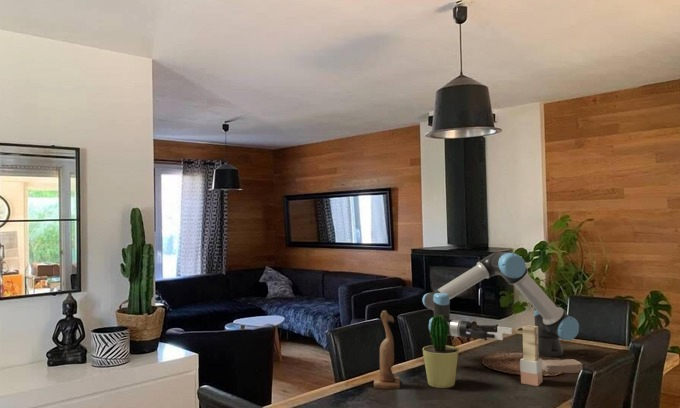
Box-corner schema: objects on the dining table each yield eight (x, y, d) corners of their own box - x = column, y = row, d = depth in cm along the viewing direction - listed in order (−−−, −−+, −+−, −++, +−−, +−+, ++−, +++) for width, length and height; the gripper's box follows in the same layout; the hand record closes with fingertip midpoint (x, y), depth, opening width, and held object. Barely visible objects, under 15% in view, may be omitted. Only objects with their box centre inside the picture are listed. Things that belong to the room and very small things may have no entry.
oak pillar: (527, 357, 225) (526, 324, 226) (538, 358, 222) (537, 326, 223) (523, 359, 221) (522, 326, 222) (535, 361, 218) (534, 328, 219)
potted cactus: (452, 391, 211) (450, 318, 212) (417, 385, 219) (416, 315, 220) (464, 381, 224) (462, 312, 225) (431, 376, 232) (429, 309, 233)
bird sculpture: (401, 390, 215) (402, 313, 217) (373, 389, 216) (374, 312, 217) (399, 382, 226) (399, 308, 228) (372, 381, 227) (373, 308, 228)
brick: (546, 374, 234) (546, 363, 234) (539, 368, 242) (539, 358, 242) (583, 374, 233) (583, 363, 234) (575, 368, 242) (575, 358, 242)
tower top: (526, 367, 227) (525, 356, 227) (542, 370, 222) (542, 358, 222) (520, 371, 221) (519, 359, 221) (536, 374, 217) (536, 362, 217)
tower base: (526, 379, 226) (525, 367, 226) (542, 382, 222) (542, 370, 222) (521, 383, 221) (520, 371, 221) (537, 386, 216) (537, 374, 217)
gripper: (471, 332, 250) (515, 337, 238) (451, 342, 229) (498, 348, 217) (470, 316, 250) (515, 320, 238) (450, 325, 230) (498, 330, 217)
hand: (507, 333), depth 228 cm, fingers open, 13 cm apart
